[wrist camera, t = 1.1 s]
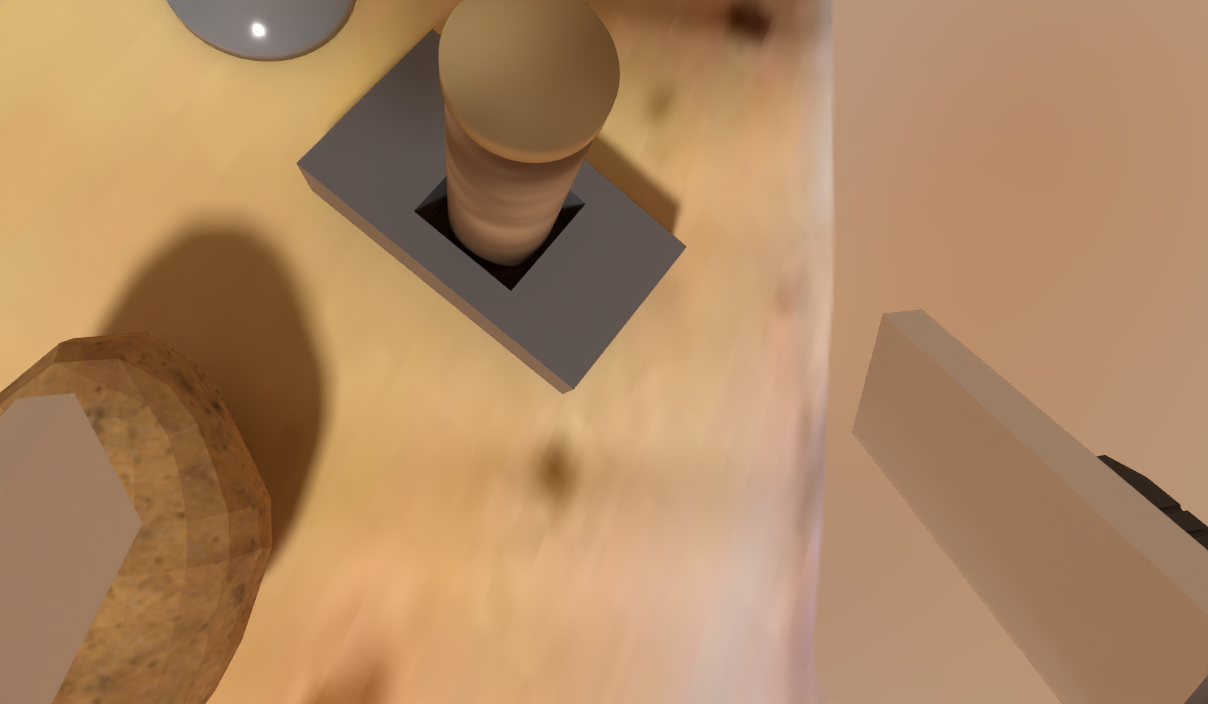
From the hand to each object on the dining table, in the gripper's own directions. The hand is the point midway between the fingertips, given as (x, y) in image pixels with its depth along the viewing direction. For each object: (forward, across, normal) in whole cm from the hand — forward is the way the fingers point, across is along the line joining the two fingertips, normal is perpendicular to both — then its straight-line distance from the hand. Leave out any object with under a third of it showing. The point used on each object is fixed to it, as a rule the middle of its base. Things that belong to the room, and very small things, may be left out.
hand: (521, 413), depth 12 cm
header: (+20, 0, -5) cm, 21 cm away
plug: (+20, 0, -5) cm, 21 cm away
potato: (+12, -14, -13) cm, 23 cm away
